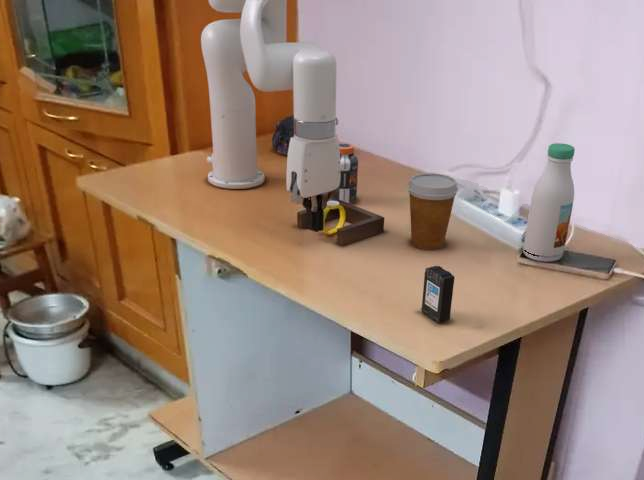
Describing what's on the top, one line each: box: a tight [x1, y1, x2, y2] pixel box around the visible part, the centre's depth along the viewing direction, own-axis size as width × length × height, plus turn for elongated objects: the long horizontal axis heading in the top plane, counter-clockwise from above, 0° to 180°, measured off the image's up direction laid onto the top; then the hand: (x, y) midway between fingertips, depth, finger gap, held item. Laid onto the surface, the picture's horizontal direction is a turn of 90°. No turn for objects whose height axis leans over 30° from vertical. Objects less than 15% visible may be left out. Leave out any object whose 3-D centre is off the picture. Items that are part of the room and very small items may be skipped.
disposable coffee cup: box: [406, 172, 459, 250], centre depth 160 cm, size 10×10×12 cm
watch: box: [321, 200, 346, 236], centre depth 165 cm, size 6×3×6 cm, turn 134°
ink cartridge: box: [420, 265, 456, 324], centre depth 137 cm, size 5×2×8 cm, turn 32°
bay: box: [296, 200, 385, 247], centre depth 167 cm, size 13×12×3 cm
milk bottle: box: [522, 142, 576, 263], centre depth 156 cm, size 8×8×20 cm
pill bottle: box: [329, 142, 359, 204], centre depth 178 cm, size 6×6×11 cm
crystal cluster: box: [271, 114, 294, 156], centre depth 205 cm, size 13×14×10 cm
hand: (314, 229), depth 162 cm, fingers closed
